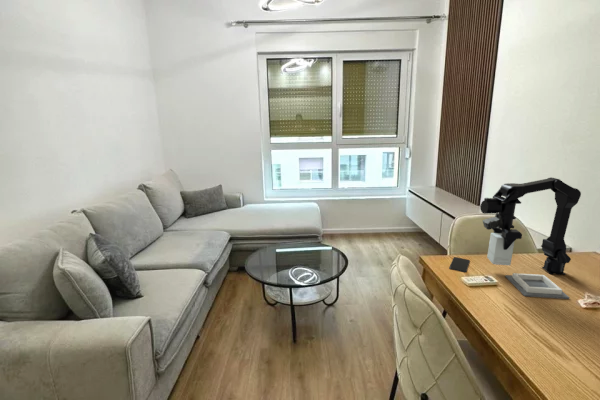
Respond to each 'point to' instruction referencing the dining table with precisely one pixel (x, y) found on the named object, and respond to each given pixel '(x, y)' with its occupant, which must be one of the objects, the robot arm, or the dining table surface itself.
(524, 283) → the dock
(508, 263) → the supplement box
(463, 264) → the smartphone
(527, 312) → the dining table surface
